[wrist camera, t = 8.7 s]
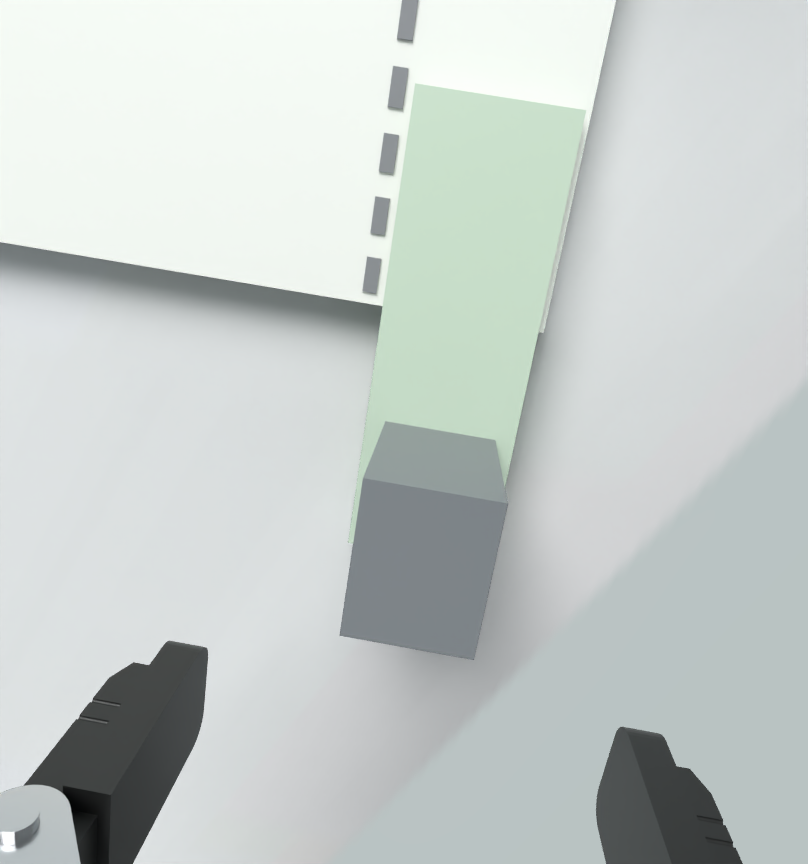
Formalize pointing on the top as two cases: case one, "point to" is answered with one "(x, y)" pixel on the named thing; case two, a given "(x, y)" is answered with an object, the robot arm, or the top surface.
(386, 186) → the ticket board
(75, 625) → the top surface
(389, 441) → the stub
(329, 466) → the top surface
